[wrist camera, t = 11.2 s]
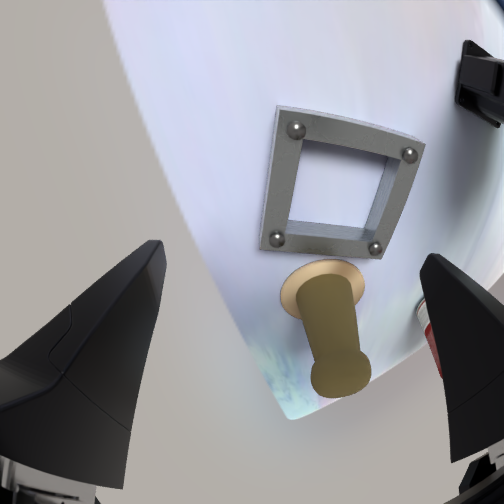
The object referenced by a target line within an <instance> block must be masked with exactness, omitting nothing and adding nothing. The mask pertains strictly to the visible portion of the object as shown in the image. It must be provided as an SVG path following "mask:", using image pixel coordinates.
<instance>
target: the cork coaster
mask: <svg viewBox="0 0 504 504" xmlns="http://www.w3.org/2000/svg"><path fill="white" fill-rule="evenodd" d="M331 273H332V274H338V275H341V276H343V277H345V278H347V279H348V280H349V282H350V283H351V287H352V292H353V298H354V305H356V304H357V303H358V301H359V300H360V298H361V297H362V295H363V292H364V288H365V283H364V279H363V276H362V274H361V272H360V270H359V269H358V268H357V267H356V266H354V265H353V264H351V263H349V262H347V261H343V260H338V259H324V260H318V261H314V262H311V263H309V264H306V265H304V266H302V267H300V268H299V269H297V270H295V271H294V272H293V273H292V274H291V275H290V276H289V277H288V278H287V279H286V280H285V282H284V284H283V286H282V288H281V303H282V306H283V308H284V309H285V310H286V311H287V312H288V313H289V314H290V315H291V316H293V317H295V318H298V319H301V320H302V318H301V315H300V312H299V309H298V306H297V302H296V293H297V291H298V289H299V287H300V286H301V285H302V284H303V283H304V282H306V281H307V280H309V279H311V278H312V277H315V276H318V275H321V274H331Z"/></svg>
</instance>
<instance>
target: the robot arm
mask: <svg viewBox="0 0 504 504" xmlns="http://www.w3.org/2000/svg"><path fill="white" fill-rule="evenodd" d="M469 44H470V46H469ZM460 99H461V102H460ZM455 100H456V103H457V104H458V105H459V106H461V107H463V108H465V109H466V110H468V111H470V112H472V113H473V114H475V115H477V116H478V117H480V118H482V119H483V120H485V121H486V122H488V123H489V124H491V125H493V126H494V127H496V128H499V127H500V125H501V123H502V124H504V60H502V59H497V58H494V57H493V56H491V55H490V54H489V53H488V52H486V51H485V50H484V49H482V48H481V47H480V46H478V45H477V44H476V43H474V42H473V41H471V40H465V42H464V51H463V58H462V65H461V71H460V77H459V83H458V88H457V93H456V98H455ZM496 122H497V123H496ZM166 265H167V263H166V256H165V251H164V246H163V242H162V241H161V240H148V241H147V242H145V243H144V244H143V245H141V246H140V247H139V248H138V249H136V250H135V251H134V252H132V253H131V254H130V255H128V256H127V257H126V258H125V259H123V260H122V261H121V262H119V263H118V264H117V265H116V266H114V267H113V268H112V269H111V270H110V271H108V272H107V273H106V274H105V275H103V276H102V277H101V278H100V279H98V280H97V281H96V282H95V283H94V284H92V285H91V286H90V287H89V288H88V289H86V290H85V291H84V292H83V293H82V294H81V295H79V296H78V297H77V298H76V299H75V300H74V301H72V303H71V305H70V304H69V305H68V306H67V307H66V308H64V309H63V310H62V311H61V312H60V313H59V314H58V315H56V316H55V317H54V318H53V319H52V320H51V321H50V322H48V323H47V324H46V325H45V326H43V327H42V328H41V329H40V330H39V331H37V332H36V333H35V334H34V335H32V336H31V337H30V338H29V339H27V340H26V341H25V342H24V343H22V344H21V345H20V346H19V347H18V348H17V349H15V350H14V351H13V352H12V353H10V354H9V355H8V356H7V357H5V358H3V359H1V360H0V504H100V502H99V501H98V499H97V498H96V496H95V493H96V485H97V486H102V487H109V488H115V489H123V484H124V476H125V468H126V461H127V454H128V448H129V442H130V436H131V432H130V431H131V429H132V423H133V418H134V413H135V408H136V403H137V398H138V393H139V389H140V384H141V380H142V375H143V371H144V366H145V362H146V358H147V354H148V350H149V346H150V342H151V338H152V334H153V330H154V327H155V323H156V320H157V316H158V312H159V307H160V301H161V295H162V289H163V284H164V277H165V272H166ZM420 280H421V285H422V289H423V293H424V298H425V303H426V308H427V313H428V316H429V320H430V324H431V328H432V332H433V336H434V340H435V344H436V348H437V353H438V357H439V362H440V367H441V372H442V378H443V383H444V390H445V397H446V404H447V412H448V424H449V435H450V436H449V437H450V459H451V463H453V462H456V461H458V460H461V459H463V458H466V457H468V456H470V455H473V454H475V453H477V452H479V451H481V450H484V449H485V448H488V452H487V453H486V454H484V455H482V456H481V457H479V458H477V459H476V460H474V461H472V462H471V463H470V464H469V467H468V469H467V471H466V473H465V475H464V478H463V480H462V482H461V484H460V486H459V496H457V497H455V498H453V499H452V500H450V501H448V502H446V503H444V504H504V305H503V304H501V303H500V302H499V301H498V300H497V299H496V298H494V297H493V296H492V295H491V294H490V293H489V292H488V291H486V290H485V289H484V288H483V287H482V286H480V285H479V284H478V283H477V282H475V281H474V280H473V279H472V278H470V277H469V276H468V275H467V274H465V273H464V272H463V271H461V270H460V269H459V268H458V267H456V266H455V265H454V264H452V263H451V262H450V261H448V260H447V259H445V258H444V257H443V256H441V255H440V254H435V253H431V254H429V255H428V256H427V258H426V260H425V262H424V264H423V266H422V268H421V270H420Z"/></svg>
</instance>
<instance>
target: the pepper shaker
mask: <svg viewBox="0 0 504 504" xmlns="http://www.w3.org/2000/svg"><path fill="white" fill-rule="evenodd" d="M296 302H297V306H298V309H299V312H300V315H301V318H302V321H303V325H304V328H305V331H306V334H307V338H308V341H309V344H310V347H311V351H312V354H313V357H314V361H315V363H314V364H313V366H312V370H311V384H312V386H313V388H314V390H315V391H316V392H317V393H318V395H320V396H323V397H326V398H340V397H345V396H349V395H352V394H354V393H357V392H358V391H360V390H362V389H363V388H364V387H365V386H366V385H367V384H368V383H369V381H370V378H371V365H370V362H369V359H368V358H367V356H366V355H365V354H364V353H363V352H361V351H360V344H359V335H358V327H357V319H356V312H355V305H354V298H353V292H352V287H351V283H350V282H349V280H348V279H347V278H345V277H343V276H341V275H338V274H332V273H331V274H321V275H318V276H315V277H312V278H311V279H309V280H307V281H306V282H304V283H303V284H302V285H301V286H300V287H299V289H298V291H297V293H296Z"/></svg>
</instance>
